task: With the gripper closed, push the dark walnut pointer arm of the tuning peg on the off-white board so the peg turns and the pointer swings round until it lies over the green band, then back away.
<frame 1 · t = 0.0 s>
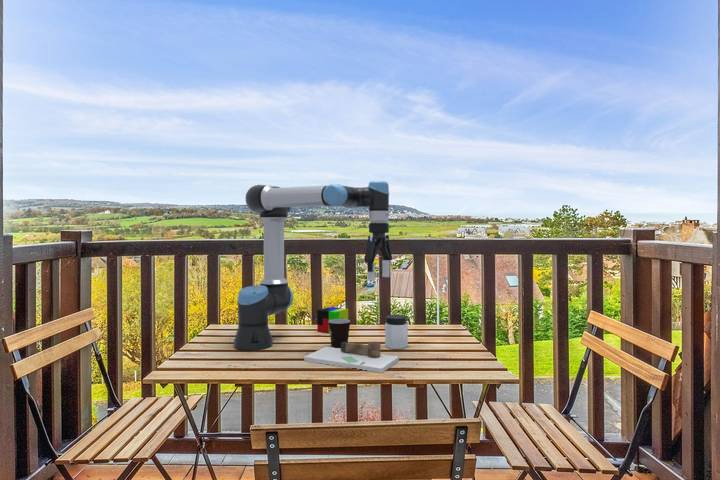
hand: (378, 278, 171), 28 cm above the table, tool pointing down, fingers open, 13 cm apart
peg pointer: (360, 347, 164), point 4 cm above the table, hinge at 0.0°
jar: (396, 347, 180), on the table
coffee mug: (340, 345, 182), on the table
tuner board: (351, 360, 161), on the table
puzzle toy: (332, 331, 207), on the table
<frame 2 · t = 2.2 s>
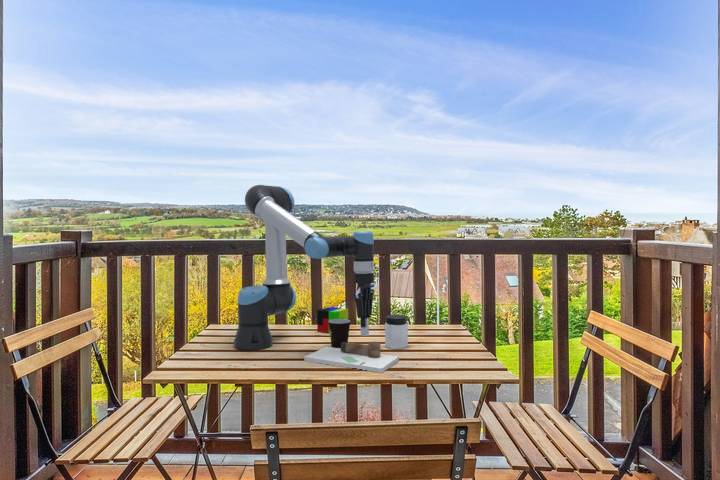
hand: (364, 335, 170), 7 cm above the table, tool pointing down, fingers closed
nothing on the table moved.
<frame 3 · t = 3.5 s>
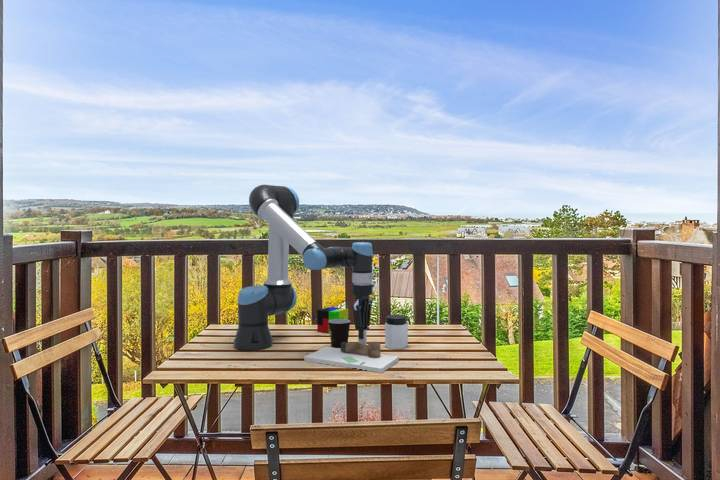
hand: (362, 346, 169), 3 cm above the table, tool pointing down, fingers closed
nothing on the table moved.
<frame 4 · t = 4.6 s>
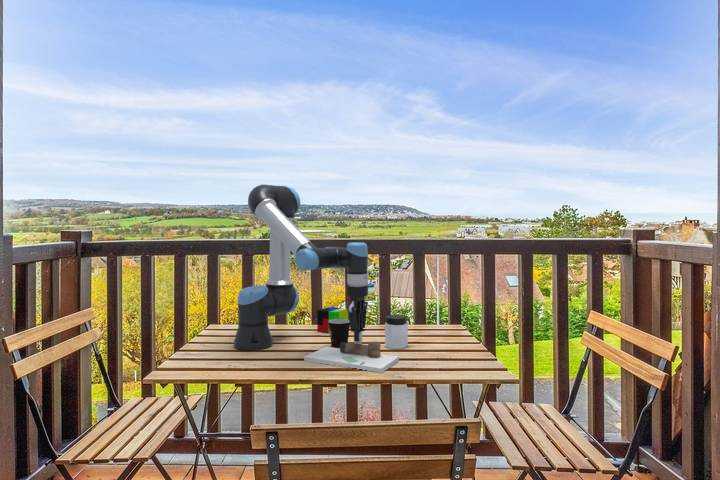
hand: (358, 349, 166), 3 cm above the table, tool pointing down, fingers closed
peg pointer: (360, 347, 163), point 4 cm above the table, hinge at 3.2°, touching gripper
everything else where it was.
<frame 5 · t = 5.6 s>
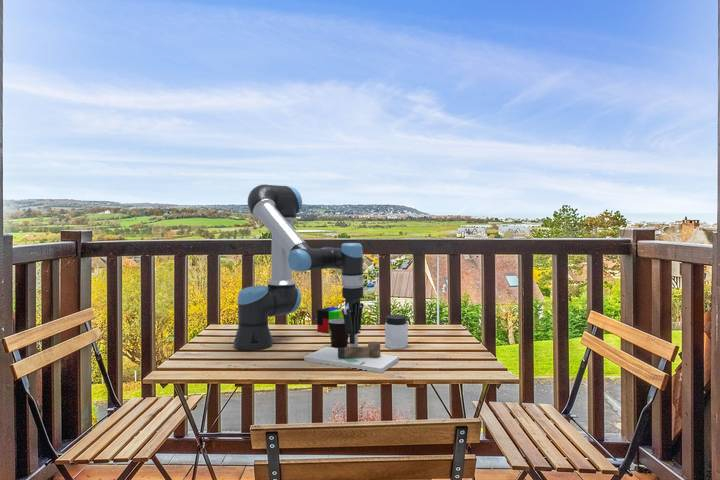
hand: (353, 351, 162), 3 cm above the table, tool pointing down, fingers closed
peg pointer: (359, 350, 160), point 4 cm above the table, hinge at 39.8°, touching gripper
everything else where it was.
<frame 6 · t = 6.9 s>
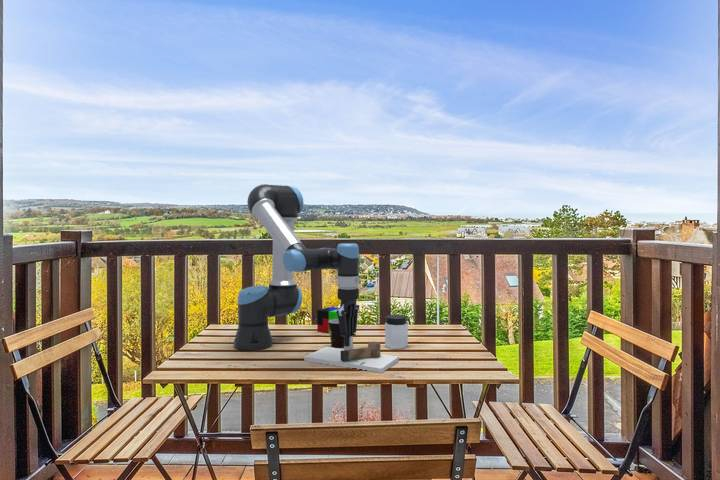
hand: (348, 354, 159), 3 cm above the table, tool pointing down, fingers closed
peg pointer: (361, 351, 159), point 4 cm above the table, hinge at 57.0°, touching gripper
everything else where it was.
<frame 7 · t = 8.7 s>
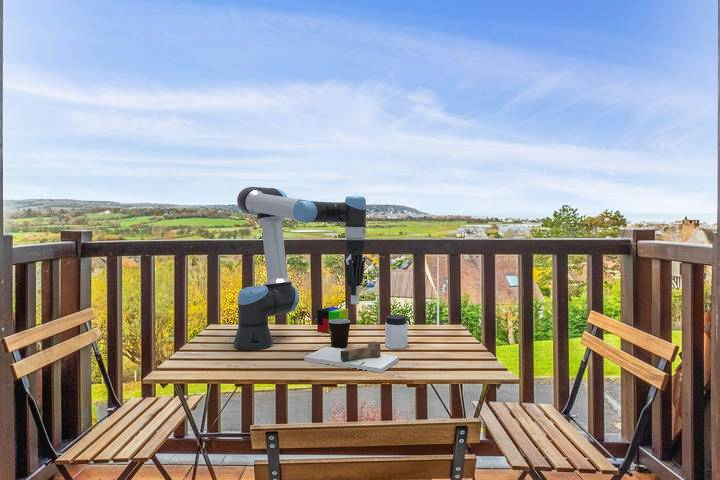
hand: (355, 303, 165), 20 cm above the table, tool pointing down, fingers closed
peg pointer: (361, 351, 159), point 4 cm above the table, hinge at 57.1°
everything else where it was.
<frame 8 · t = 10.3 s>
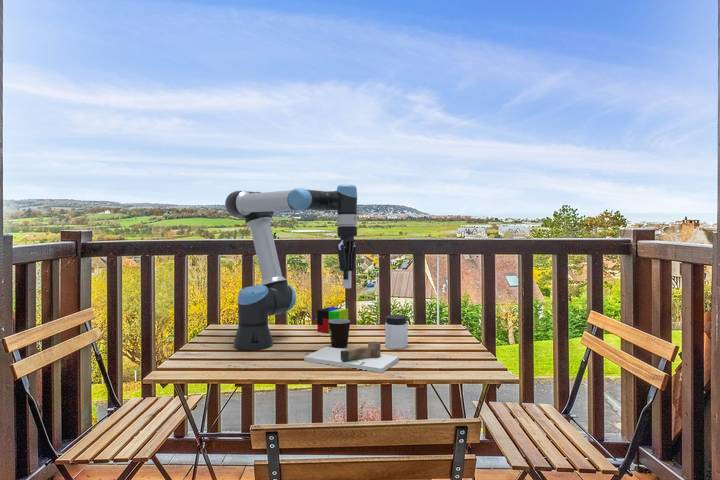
hand: (347, 287, 172), 24 cm above the table, tool pointing down, fingers closed
nothing on the table moved.
at the end: peg pointer at +57° (first picture: +0°) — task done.
